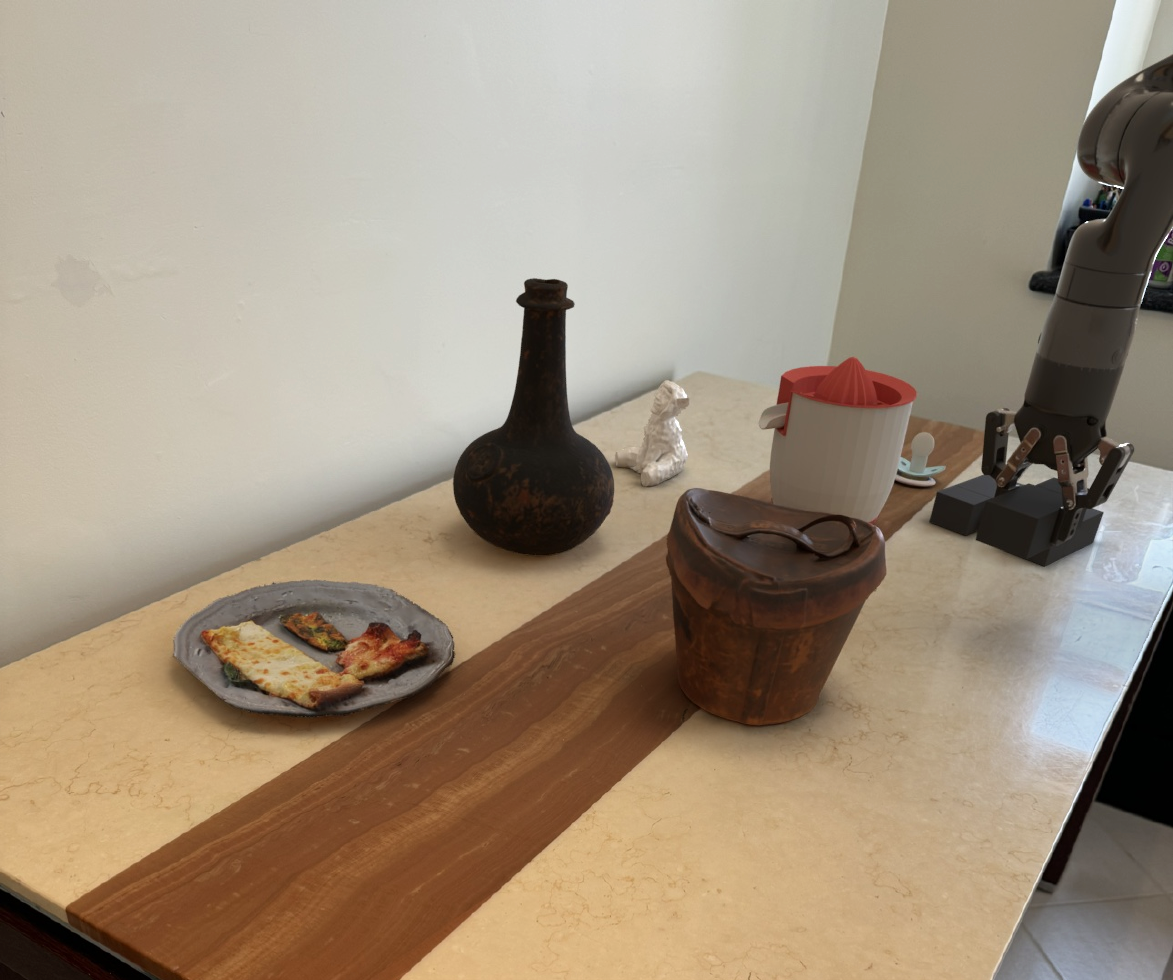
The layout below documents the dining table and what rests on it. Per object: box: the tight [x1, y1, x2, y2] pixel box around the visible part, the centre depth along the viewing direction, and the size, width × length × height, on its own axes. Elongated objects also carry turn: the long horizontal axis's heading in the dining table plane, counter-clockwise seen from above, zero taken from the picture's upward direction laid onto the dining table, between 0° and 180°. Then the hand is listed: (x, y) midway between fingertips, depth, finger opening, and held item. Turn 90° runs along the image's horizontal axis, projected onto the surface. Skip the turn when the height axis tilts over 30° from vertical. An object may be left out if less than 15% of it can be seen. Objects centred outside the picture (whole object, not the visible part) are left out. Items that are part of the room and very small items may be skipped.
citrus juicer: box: [758, 356, 918, 525], centre depth 130 cm, size 16×17×20 cm
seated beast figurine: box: [614, 379, 690, 487], centre depth 144 cm, size 10×9×12 cm
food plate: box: [172, 579, 456, 719], centre depth 101 cm, size 25×23×4 cm
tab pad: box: [975, 477, 1090, 560], centre depth 107 cm, size 6×12×4 cm, turn 132°
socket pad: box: [929, 474, 1104, 567], centre depth 137 cm, size 16×12×4 cm
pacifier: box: [894, 431, 947, 487], centre depth 149 cm, size 7×6×6 cm
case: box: [665, 487, 888, 726], centre depth 97 cm, size 18×20×18 cm
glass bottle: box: [452, 277, 615, 557], centre depth 119 cm, size 18×18×28 cm
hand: (1028, 532), depth 108 cm, fingers closed on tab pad, 5 cm apart
